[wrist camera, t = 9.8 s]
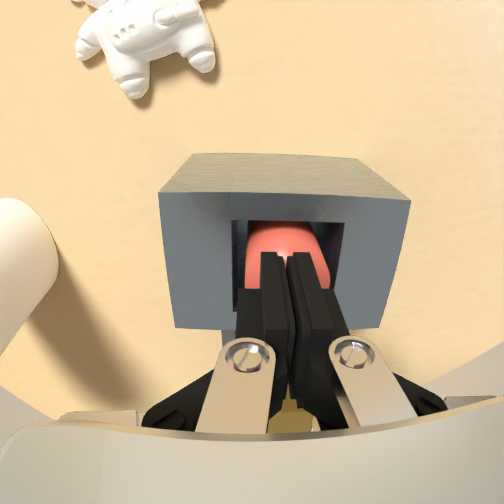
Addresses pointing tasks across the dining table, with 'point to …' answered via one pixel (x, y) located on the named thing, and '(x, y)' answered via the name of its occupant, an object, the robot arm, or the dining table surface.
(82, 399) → the dining table surface
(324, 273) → the button
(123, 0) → the astronaut figurine
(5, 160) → the dining table surface
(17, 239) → the cup
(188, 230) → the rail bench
